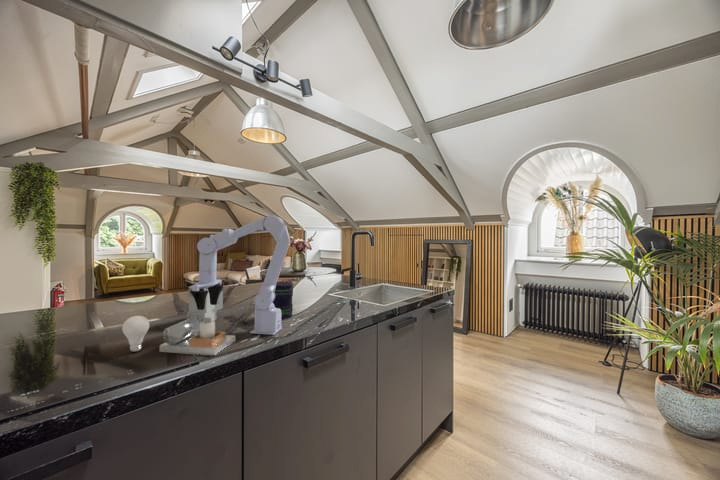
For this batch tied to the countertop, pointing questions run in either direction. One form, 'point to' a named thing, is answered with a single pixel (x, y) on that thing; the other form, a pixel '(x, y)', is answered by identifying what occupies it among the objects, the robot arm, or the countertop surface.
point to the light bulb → (135, 331)
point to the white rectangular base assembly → (193, 339)
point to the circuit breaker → (208, 310)
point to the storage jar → (284, 299)
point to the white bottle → (207, 328)
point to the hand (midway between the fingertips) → (207, 307)
